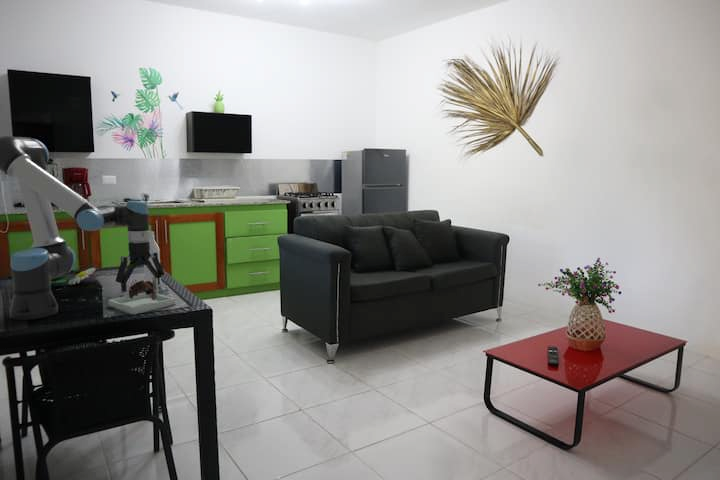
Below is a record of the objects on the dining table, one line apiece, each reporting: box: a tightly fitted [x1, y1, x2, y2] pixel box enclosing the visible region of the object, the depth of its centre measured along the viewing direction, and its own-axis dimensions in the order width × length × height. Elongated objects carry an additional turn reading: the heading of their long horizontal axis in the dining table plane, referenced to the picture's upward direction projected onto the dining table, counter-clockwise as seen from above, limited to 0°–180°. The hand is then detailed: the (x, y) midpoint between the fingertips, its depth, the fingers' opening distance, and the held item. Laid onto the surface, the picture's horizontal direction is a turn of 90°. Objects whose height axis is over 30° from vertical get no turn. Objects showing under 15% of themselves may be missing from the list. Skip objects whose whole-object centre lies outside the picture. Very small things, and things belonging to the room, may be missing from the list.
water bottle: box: [142, 230, 162, 288], centre depth 230 cm, size 7×7×25 cm
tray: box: [107, 291, 176, 316], centre depth 202 cm, size 18×18×2 cm
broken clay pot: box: [129, 279, 156, 300], centre depth 202 cm, size 12×10×8 cm
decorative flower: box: [50, 267, 96, 286], centre depth 232 cm, size 13×5×30 cm
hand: (141, 296), depth 202 cm, fingers closed on broken clay pot, 11 cm apart
